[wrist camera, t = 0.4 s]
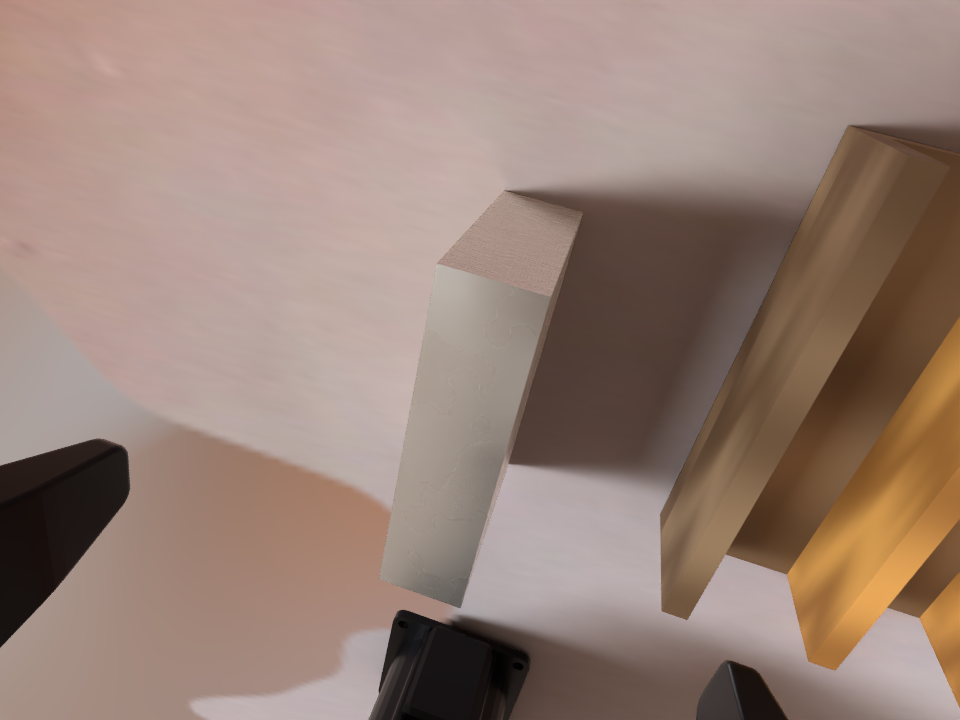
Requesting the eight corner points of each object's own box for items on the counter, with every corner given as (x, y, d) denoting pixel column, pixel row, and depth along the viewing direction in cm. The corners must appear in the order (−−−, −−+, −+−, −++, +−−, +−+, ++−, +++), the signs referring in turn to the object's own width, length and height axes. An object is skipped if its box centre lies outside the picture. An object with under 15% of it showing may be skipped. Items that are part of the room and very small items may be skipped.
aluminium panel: (509, 462, 24) (460, 608, 18) (447, 442, 24) (378, 579, 18) (583, 211, 19) (550, 297, 13) (504, 189, 19) (436, 263, 13)
